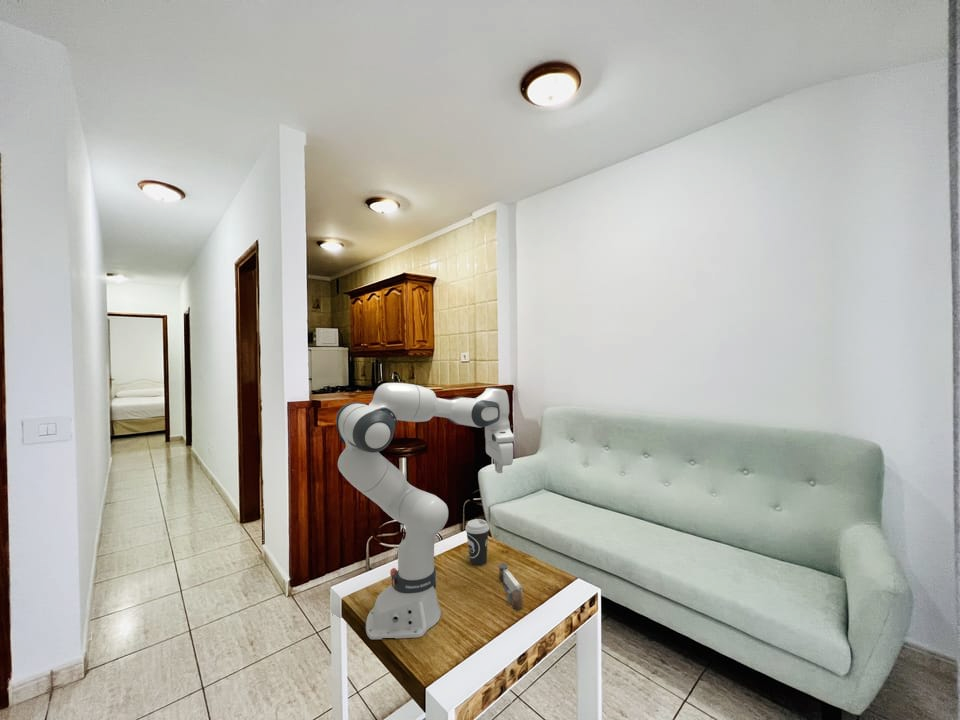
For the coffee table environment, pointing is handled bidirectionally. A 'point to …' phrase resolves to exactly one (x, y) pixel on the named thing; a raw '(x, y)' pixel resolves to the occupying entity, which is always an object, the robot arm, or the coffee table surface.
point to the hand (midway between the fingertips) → (498, 472)
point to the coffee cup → (477, 541)
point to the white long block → (511, 581)
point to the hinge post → (501, 568)
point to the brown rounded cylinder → (515, 599)
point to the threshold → (507, 589)
